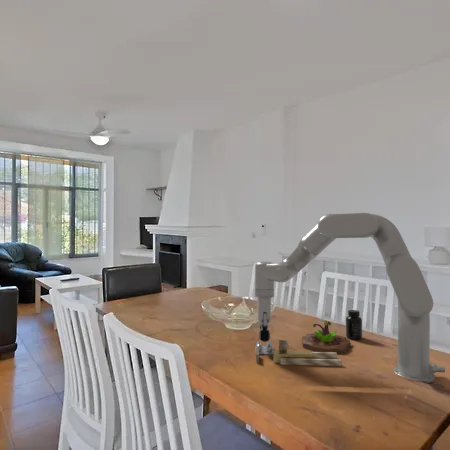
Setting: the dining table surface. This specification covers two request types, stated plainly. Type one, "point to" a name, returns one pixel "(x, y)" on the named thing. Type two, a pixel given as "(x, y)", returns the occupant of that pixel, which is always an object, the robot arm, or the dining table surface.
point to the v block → (264, 348)
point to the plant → (325, 341)
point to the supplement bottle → (353, 325)
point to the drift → (291, 355)
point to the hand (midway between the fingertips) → (264, 337)
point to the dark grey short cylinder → (260, 335)
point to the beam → (330, 361)
